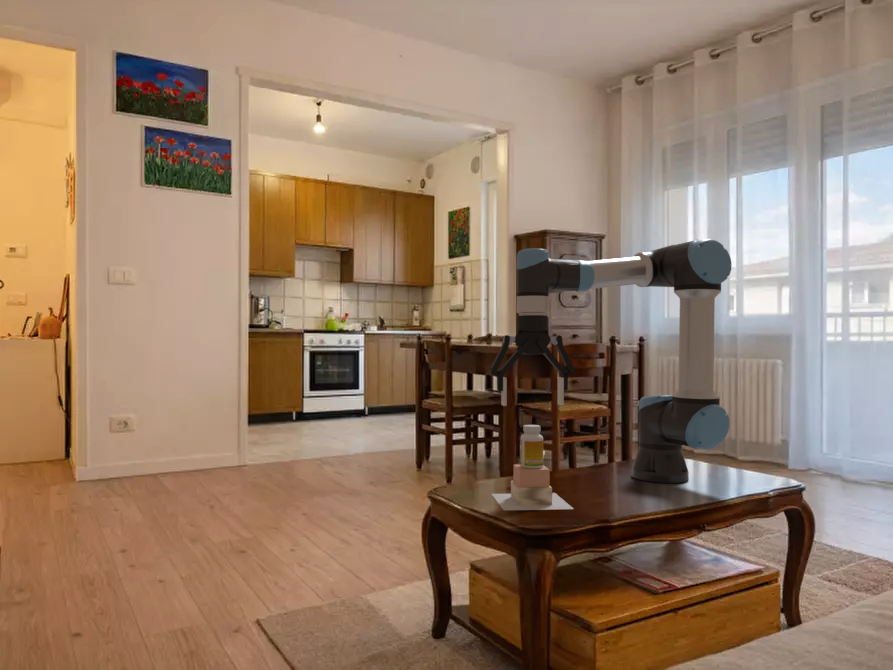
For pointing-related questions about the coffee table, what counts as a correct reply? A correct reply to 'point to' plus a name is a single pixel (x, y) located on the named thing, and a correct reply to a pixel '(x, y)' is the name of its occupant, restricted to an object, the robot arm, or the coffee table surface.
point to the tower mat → (509, 504)
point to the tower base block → (531, 495)
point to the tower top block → (531, 476)
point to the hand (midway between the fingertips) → (532, 405)
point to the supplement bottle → (531, 447)
